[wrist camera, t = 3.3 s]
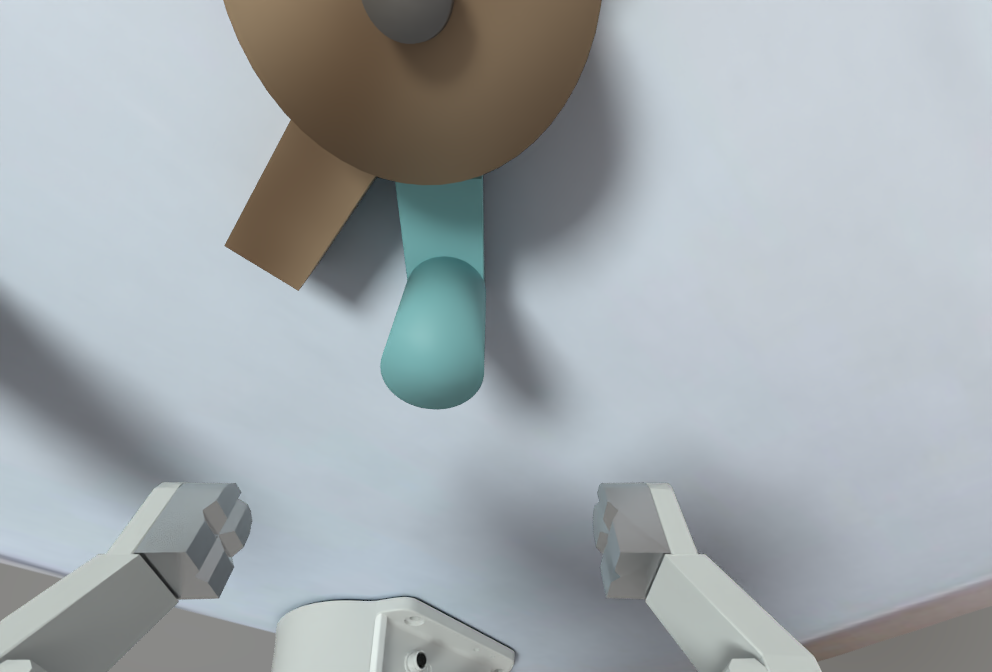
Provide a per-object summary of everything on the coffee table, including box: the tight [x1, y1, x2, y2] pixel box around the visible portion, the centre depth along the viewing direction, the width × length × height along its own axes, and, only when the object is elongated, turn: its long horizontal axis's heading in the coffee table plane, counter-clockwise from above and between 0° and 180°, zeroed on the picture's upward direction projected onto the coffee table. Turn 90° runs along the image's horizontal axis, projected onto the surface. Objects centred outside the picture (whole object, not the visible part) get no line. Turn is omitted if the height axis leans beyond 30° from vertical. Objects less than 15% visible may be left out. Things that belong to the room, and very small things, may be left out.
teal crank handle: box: [380, 175, 486, 409], centre depth 16 cm, size 6×3×7 cm, turn 0°
